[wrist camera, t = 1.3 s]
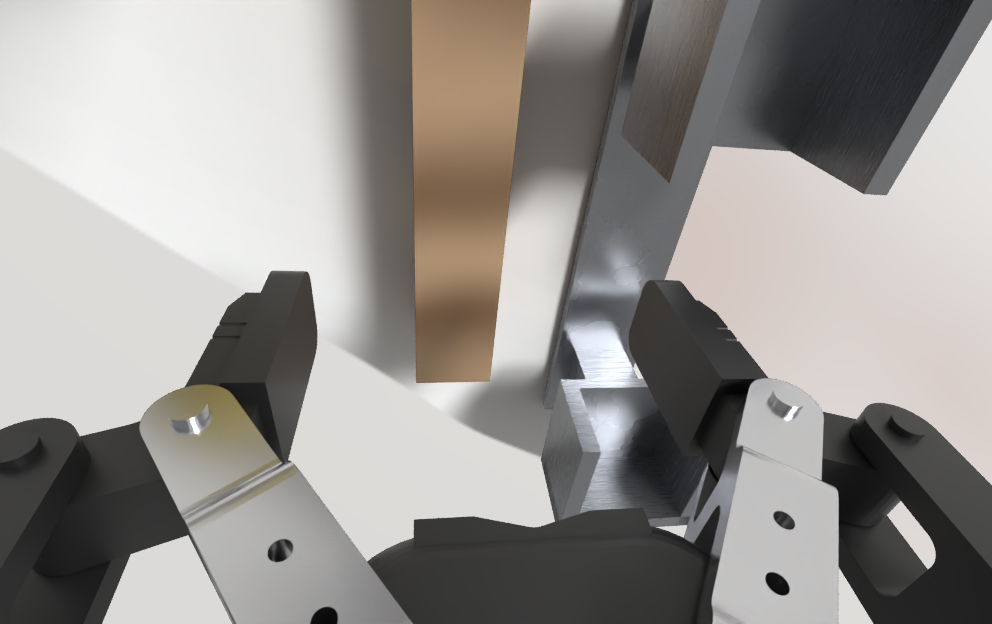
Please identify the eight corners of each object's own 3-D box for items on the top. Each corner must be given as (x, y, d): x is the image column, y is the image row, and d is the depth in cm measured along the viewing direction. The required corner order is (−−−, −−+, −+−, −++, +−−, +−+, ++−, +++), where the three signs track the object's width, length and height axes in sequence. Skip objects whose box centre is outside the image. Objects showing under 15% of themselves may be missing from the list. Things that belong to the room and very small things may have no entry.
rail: (412, -186, 16) (408, -228, 12) (521, -171, 16) (553, -206, 12) (417, 318, 28) (416, 382, 24) (480, 318, 28) (489, 381, 24)
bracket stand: (624, -95, 17) (765, -117, 10) (805, -69, 19) (1046, -73, 11) (527, 402, 32) (556, 534, 25) (631, 400, 33) (688, 526, 26)
